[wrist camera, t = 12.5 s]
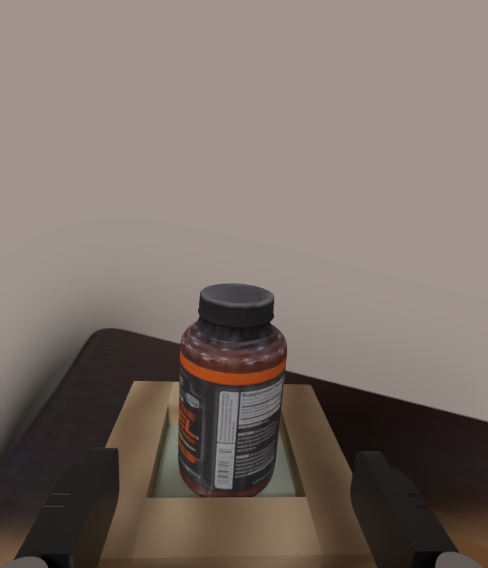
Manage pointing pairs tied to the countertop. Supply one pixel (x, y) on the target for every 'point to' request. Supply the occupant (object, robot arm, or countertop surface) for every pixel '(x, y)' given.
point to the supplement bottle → (230, 392)
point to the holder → (231, 510)
